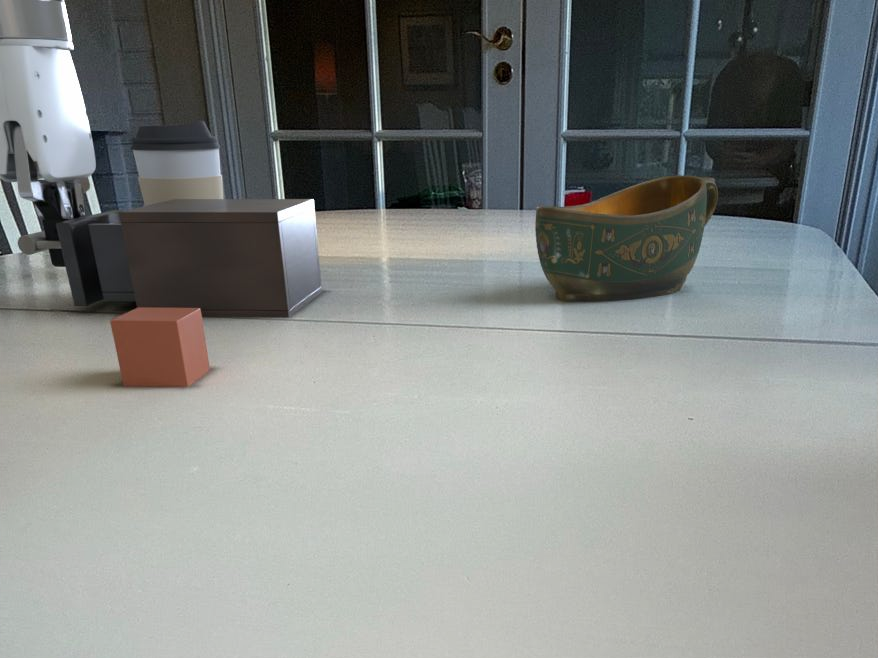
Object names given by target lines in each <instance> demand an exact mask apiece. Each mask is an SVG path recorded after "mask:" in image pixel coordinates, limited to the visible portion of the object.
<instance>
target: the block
mask: <svg viewBox="0 0 878 658" xmlns="http://www.w3.org/2000/svg"><path fill="white" fill-rule="evenodd" d="M109 322H110V328H111V333H112V336H113V341H114V346H115V352H116V357H117V361H118V366H119V371H120V377H121V380H122V385H123V387H168V388H169V387H171V388H173V387H174V388H175V387H176V388H183V387H184V388H188V387H190V386H191V385H193V384H194V383H195V382H196V381H198V380H199V379H200V378H202V377H204V376H205V375H206V374H207V373H209V372H210V371H211V365H210V360H209V353H208V347H207V341H206V334H205V327H204V322H203V317H202V314H201V309H200V308H144V307H138V308H137V307H136V308H134V309H132V310H129V311H127V312H125V313H123V314H120V315H118V316H117V317H115V318H112V319H110V320H109Z"/></svg>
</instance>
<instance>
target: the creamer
mask: <svg viewBox="0 0 878 658" xmlns="http://www.w3.org/2000/svg"><path fill="white" fill-rule="evenodd" d="M715 182H716V179H715V178H713V177H707V176H701V177H699V176H696V175H680V174H678V175H667V176H663V177H662V176H661V177H658V178H657V177H656V178H652V179H649V180H646V181H641V182H639V183H637V184H634V185H632V186H628V187H626V188H623V189H621V190H618V191H616V192H613V193H610V194H607V195H605V196H603V197H600V198H599V199H596V200H593V201H590V202H587V203H583V204H576V205H566V206H555V205H554V206H553V205H552V206H551V205H550V206H549V205H546V206H545V205H537V206H536V208H535V227H534V229H535V230H534V231H535V242H536V249H537V255H538V260H539V263H540V267H541V269H542V271H543V274H544V276H545V278H546V280H547V281H548V283H549V284H550V285H551V287H552V289H554V291H555V298H556V299H557V300H560V301H565V302H566V301H567V302H573V303H574V302H575V303H577V302H578V303H598V302H599V303H600V302H601V303H603V302H617V301H618V302H619V301H620V302H621V301H632V300H642V299H650V298H656V297H657V298H658V297H663V296H669V295H674V294H675V293H678V292H680V291H681V290H682V287H683V286H684V285H685V283H686V281H687V277H688V275H689V274H690V273H691V271H692V270H693V268H694V265H695V263H696V260H697V258H698V255H699V253H700V248H701V244H702V241H703V236H704V231H705V227H706V226H707V224H708V222H709V221H710V220H711V219H712V217H713V214H714V212H715V210H716V207H717V204H718V201H719V200H718V198H719V191H718V187H717V184H716V183H715Z"/></svg>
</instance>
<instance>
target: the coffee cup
mask: <svg viewBox="0 0 878 658" xmlns="http://www.w3.org/2000/svg"><path fill="white" fill-rule="evenodd" d="M130 141H131V146H130V151H132V152H133V157H134V160H135V164H136V169H137V173H138V176H137V180H138V185H139V188H140V192H141V196H142V200H143V204H144V206H147V205H152V204H156V203H160V202H165V201H169V200H173V199H224V185H223V184H224V183H223V175H222V174H221V161H220V149H221V146H220V144H219V143H218V137H217V136H215V135H214V136H213V135H212V134H211V132H210V130H209V128H208V127H207V124H206V123H205V121H204V120H194V121H192V122H190V124H161V125H160V124H159V125H157V124H156V125H139V126H138V129H137V133H136V136H135V137H131V140H130Z"/></svg>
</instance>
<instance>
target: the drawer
mask: <svg viewBox="0 0 878 658" xmlns="http://www.w3.org/2000/svg"><path fill="white" fill-rule="evenodd" d="M121 211H125V210H124V209H112V210H108V211H103V212H99V213H94V214H90V215H85V216H84V217H79V218H76V219H71V220H67V221H62V222H58V223H56V227H57V231H58V235H59V240H60V241H47V240H46V236H45V232H44V230H42V231H41V230H40V231H37V232H32V233H29V234H24V235H21V236H19V238H18V239H17V246H18V249H19V250H20V252H22V254H24V255H26V256H32V255H34V254H40V253H43V252H46V251H49V249H62V253H63V258H64V262H65V266H66V267H65V270H66V275H67V279H68V283H69V288H70V292H71V293H70V294H71V297H72V300H73V306H74V307H89V306H90V305H92V304H95V303H97V302H100V301H103V302H105V303H107V302H114V303H116V302H117V303H118V302H120V303H122V302H123V303H125V302H126V303H131V302H132V303H136V299H135V294H134V289H133V284H132V279H131V273H130V268H129V263H128V258H127V252H126V247H125V242H124V237H123V232H122V226H121V221H120V216H119V212H121Z"/></svg>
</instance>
